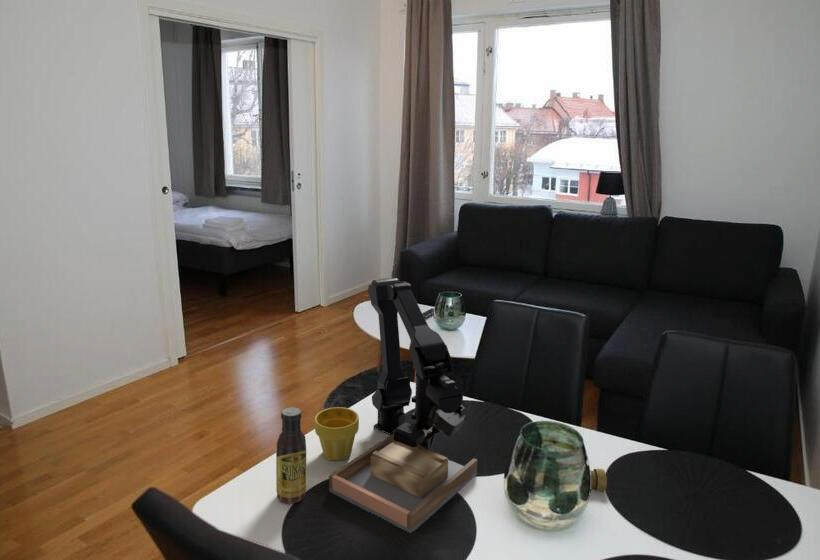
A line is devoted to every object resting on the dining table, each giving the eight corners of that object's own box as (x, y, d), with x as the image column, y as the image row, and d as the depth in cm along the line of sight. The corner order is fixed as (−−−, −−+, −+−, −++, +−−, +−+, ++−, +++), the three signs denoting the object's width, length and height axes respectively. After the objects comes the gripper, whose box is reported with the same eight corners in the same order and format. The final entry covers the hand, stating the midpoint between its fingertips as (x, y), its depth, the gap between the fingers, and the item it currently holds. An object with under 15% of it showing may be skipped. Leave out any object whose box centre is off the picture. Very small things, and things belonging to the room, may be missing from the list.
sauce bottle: (281, 508, 122) (277, 421, 117) (273, 492, 127) (269, 408, 122) (311, 500, 125) (309, 415, 119) (302, 484, 130) (299, 402, 125)
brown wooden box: (370, 474, 132) (370, 454, 131) (398, 455, 140) (398, 435, 139) (421, 498, 124) (422, 477, 123) (447, 476, 132) (448, 456, 130)
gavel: (545, 430, 149) (585, 432, 148) (543, 447, 150) (583, 449, 149) (561, 473, 128) (607, 475, 128) (559, 492, 129) (605, 495, 129)
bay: (329, 491, 128) (328, 475, 127) (400, 443, 147) (400, 429, 146) (410, 533, 115) (411, 516, 114) (476, 475, 134) (477, 459, 133)
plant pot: (335, 471, 135) (335, 432, 133) (306, 454, 142) (305, 417, 139) (367, 452, 143) (367, 416, 140) (338, 437, 149) (337, 402, 147)
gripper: (434, 420, 121) (432, 487, 125) (480, 388, 135) (477, 449, 139) (391, 404, 127) (391, 468, 131) (439, 376, 142) (437, 434, 146)
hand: (426, 455), depth 137 cm, fingers closed
